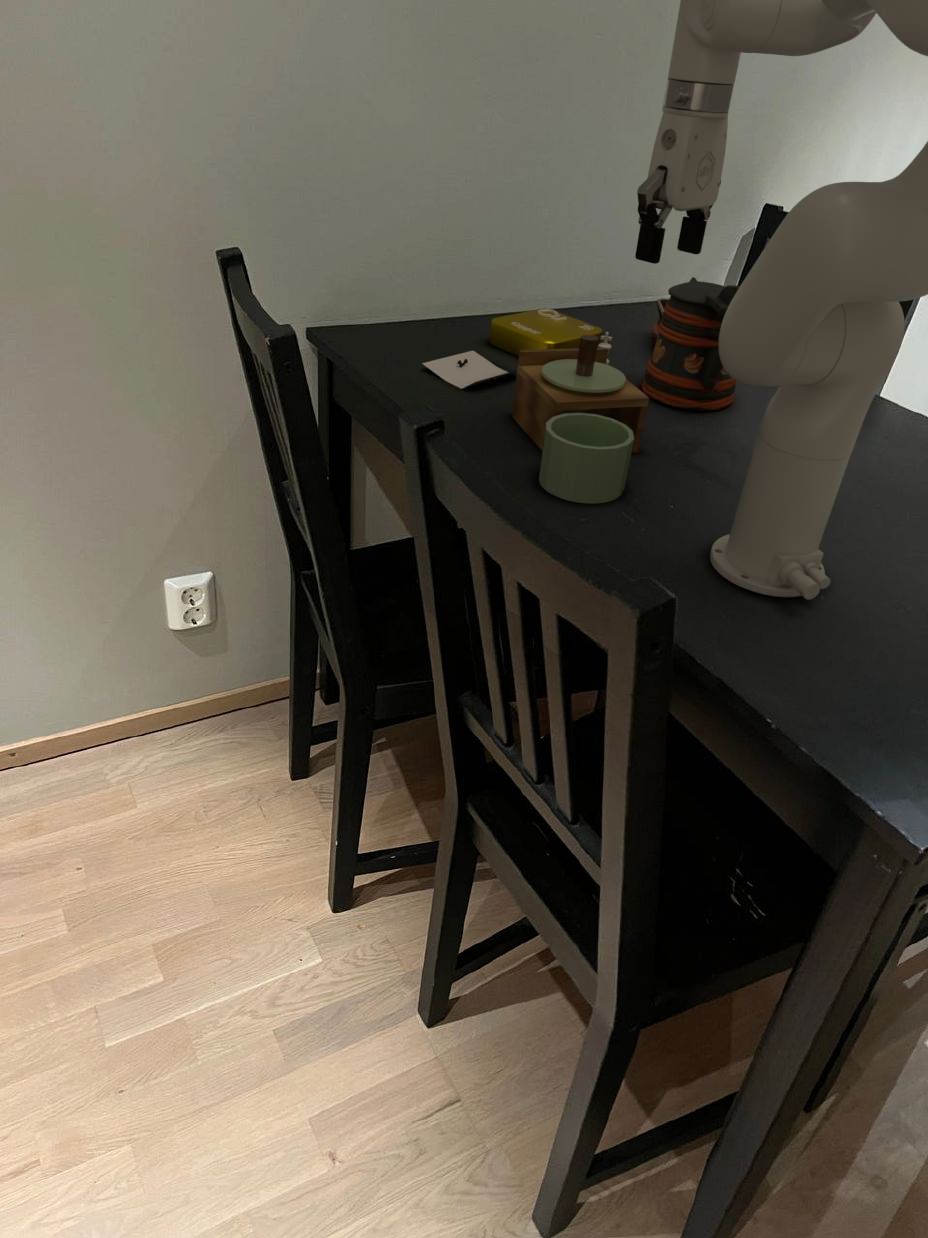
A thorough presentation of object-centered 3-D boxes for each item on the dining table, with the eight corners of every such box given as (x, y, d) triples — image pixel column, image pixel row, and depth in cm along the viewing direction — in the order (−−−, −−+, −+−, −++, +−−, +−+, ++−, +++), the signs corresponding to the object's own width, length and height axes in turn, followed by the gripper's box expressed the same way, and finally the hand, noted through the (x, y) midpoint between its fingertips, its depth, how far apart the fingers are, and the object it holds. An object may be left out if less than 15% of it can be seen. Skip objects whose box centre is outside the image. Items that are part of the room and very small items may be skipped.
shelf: (638, 452, 128) (652, 383, 122) (549, 458, 124) (559, 387, 118) (595, 412, 139) (606, 347, 133) (511, 416, 135) (519, 349, 129)
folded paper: (472, 356, 155) (473, 345, 154) (525, 378, 149) (526, 367, 148) (420, 370, 148) (421, 358, 147) (473, 394, 141) (474, 381, 140)
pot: (638, 499, 116) (649, 445, 112) (558, 506, 113) (567, 451, 108) (601, 462, 124) (610, 410, 120) (526, 467, 121) (532, 414, 117)
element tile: (484, 343, 162) (486, 315, 159) (542, 330, 171) (546, 303, 168) (545, 369, 153) (549, 340, 150) (603, 354, 162) (608, 327, 159)
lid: (639, 395, 124) (647, 350, 121) (560, 398, 121) (567, 353, 117) (602, 365, 133) (609, 322, 130) (528, 367, 130) (533, 324, 126)
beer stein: (760, 424, 140) (797, 291, 129) (671, 424, 137) (701, 288, 126) (710, 379, 155) (740, 256, 144) (629, 378, 153) (652, 253, 141)
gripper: (686, 104, 97) (656, 271, 107) (762, 103, 109) (728, 254, 118) (627, 96, 101) (603, 258, 111) (706, 95, 113) (678, 243, 122)
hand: (668, 256), depth 114 cm, fingers open, 9 cm apart
